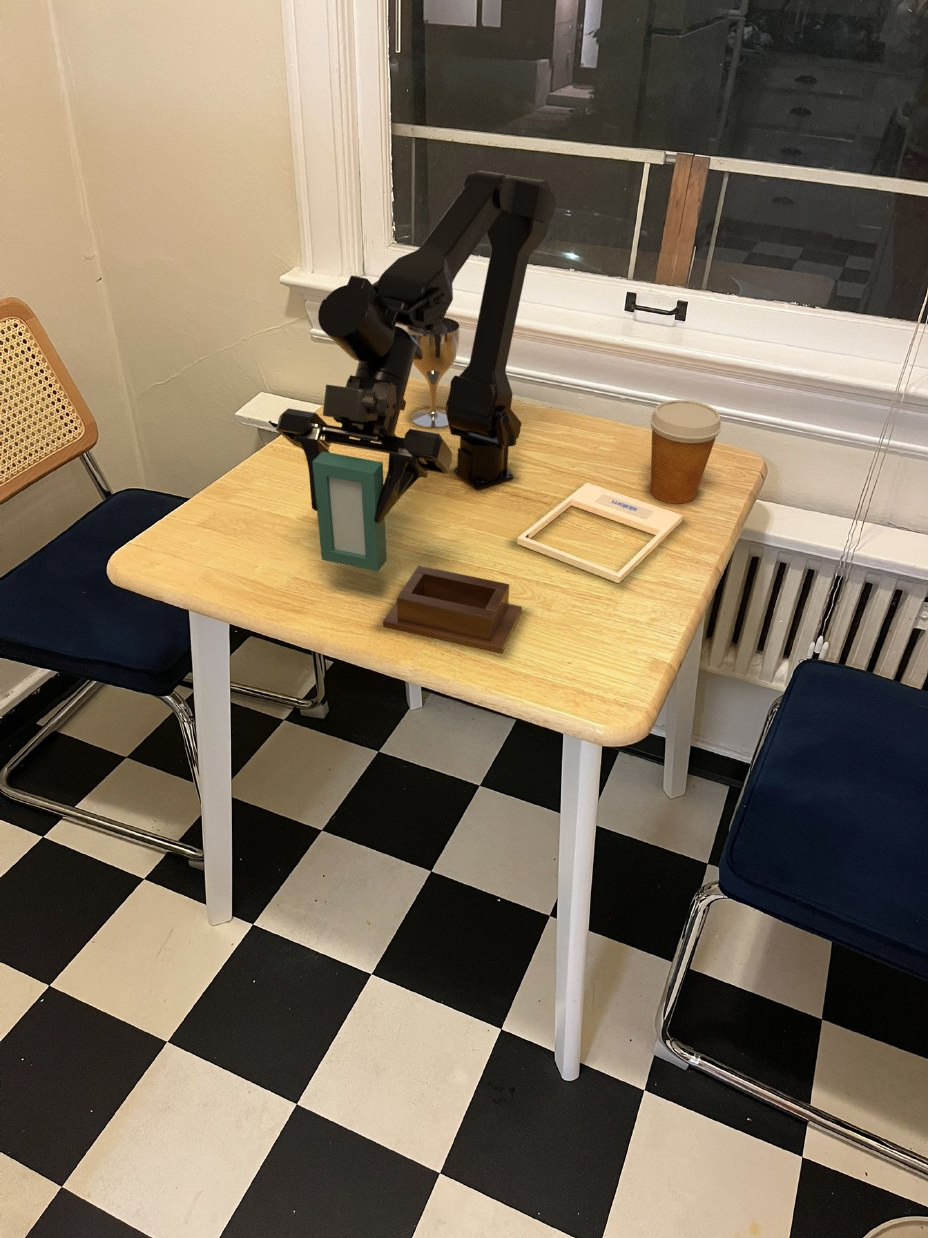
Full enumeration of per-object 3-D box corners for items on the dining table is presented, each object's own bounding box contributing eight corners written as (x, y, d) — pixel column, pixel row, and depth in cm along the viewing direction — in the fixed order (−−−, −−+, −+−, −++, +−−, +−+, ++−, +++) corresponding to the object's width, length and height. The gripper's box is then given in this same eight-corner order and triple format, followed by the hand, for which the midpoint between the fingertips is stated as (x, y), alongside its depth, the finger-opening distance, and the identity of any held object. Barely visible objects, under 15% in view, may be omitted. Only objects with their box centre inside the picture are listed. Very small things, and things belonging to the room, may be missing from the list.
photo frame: (683, 514, 121) (620, 575, 109) (681, 521, 121) (618, 583, 110) (586, 481, 127) (517, 536, 115) (586, 488, 128) (517, 543, 116)
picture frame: (331, 548, 105) (322, 451, 97) (387, 560, 103) (382, 462, 96) (321, 560, 103) (312, 461, 95) (378, 572, 101) (373, 472, 94)
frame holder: (408, 587, 108) (408, 559, 106) (521, 611, 105) (523, 583, 102) (383, 626, 102) (381, 598, 100) (502, 653, 99) (503, 624, 96)
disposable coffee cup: (705, 479, 131) (721, 401, 124) (708, 513, 123) (726, 432, 116) (639, 473, 132) (651, 395, 125) (638, 506, 125) (650, 425, 117)
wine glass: (403, 426, 143) (401, 332, 134) (414, 405, 149) (412, 314, 140) (453, 430, 142) (454, 336, 133) (461, 409, 148) (463, 318, 139)
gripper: (274, 335, 94) (234, 478, 93) (443, 360, 90) (405, 511, 88) (314, 379, 105) (279, 508, 103) (467, 403, 100) (433, 539, 99)
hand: (345, 516), depth 98 cm, fingers closed on picture frame, 7 cm apart
